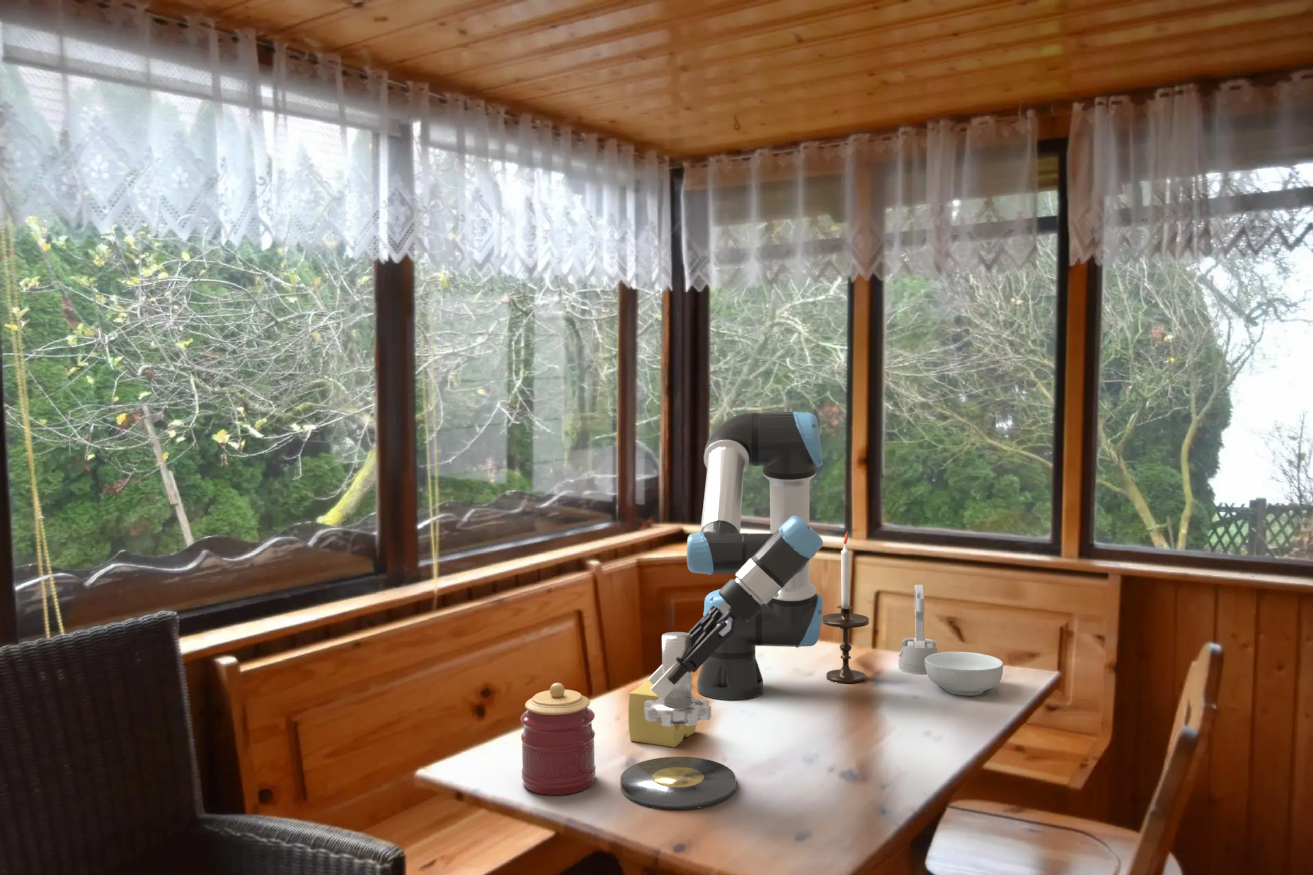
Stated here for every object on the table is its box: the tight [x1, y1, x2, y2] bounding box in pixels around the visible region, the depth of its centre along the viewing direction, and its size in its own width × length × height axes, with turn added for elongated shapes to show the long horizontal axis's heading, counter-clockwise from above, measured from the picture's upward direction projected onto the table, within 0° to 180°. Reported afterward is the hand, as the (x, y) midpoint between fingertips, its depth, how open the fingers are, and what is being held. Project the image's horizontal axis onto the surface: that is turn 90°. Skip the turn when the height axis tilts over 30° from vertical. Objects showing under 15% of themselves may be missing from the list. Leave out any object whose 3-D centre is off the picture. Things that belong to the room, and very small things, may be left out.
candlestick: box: [821, 531, 870, 685], centre depth 237 cm, size 11×11×35 cm
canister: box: [520, 682, 597, 796], centre depth 176 cm, size 13×13×18 cm
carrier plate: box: [619, 756, 737, 811], centre depth 174 cm, size 20×20×2 cm
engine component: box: [898, 584, 939, 675], centre depth 245 cm, size 11×20×10 cm
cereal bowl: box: [925, 651, 1004, 697], centre depth 227 cm, size 17×17×7 cm
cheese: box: [627, 679, 697, 748], centre depth 199 cm, size 10×11×10 cm
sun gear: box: [644, 631, 712, 727], centre depth 173 cm, size 12×12×14 cm
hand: (655, 689), depth 173 cm, fingers closed on sun gear, 5 cm apart
